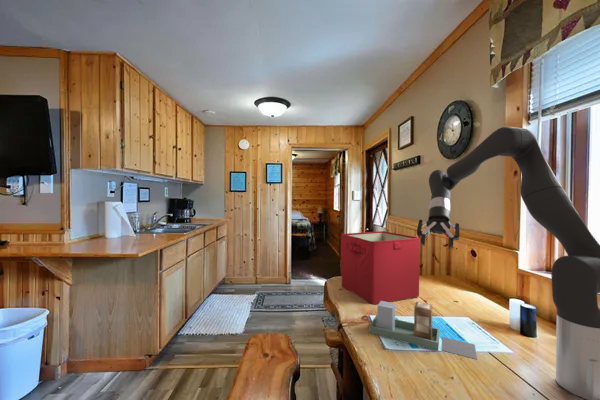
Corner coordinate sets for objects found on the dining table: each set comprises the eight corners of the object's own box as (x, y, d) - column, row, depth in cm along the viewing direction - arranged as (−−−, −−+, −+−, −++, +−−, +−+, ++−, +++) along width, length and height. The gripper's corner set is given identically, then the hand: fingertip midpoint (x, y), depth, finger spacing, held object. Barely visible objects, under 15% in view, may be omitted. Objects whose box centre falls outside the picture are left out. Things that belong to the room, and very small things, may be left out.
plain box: (394, 328, 95) (395, 303, 94) (392, 334, 90) (392, 308, 90) (380, 325, 97) (380, 300, 97) (377, 330, 93) (377, 305, 93)
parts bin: (439, 337, 90) (439, 328, 90) (438, 352, 81) (438, 343, 81) (376, 322, 100) (376, 314, 100) (369, 333, 91) (369, 325, 91)
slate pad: (474, 346, 84) (474, 344, 84) (477, 361, 77) (477, 359, 77) (442, 338, 89) (442, 336, 89) (441, 352, 81) (441, 350, 81)
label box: (432, 337, 89) (432, 304, 89) (430, 345, 84) (431, 310, 84) (415, 333, 91) (416, 301, 91) (413, 340, 86) (414, 306, 86)
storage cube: (369, 307, 114) (370, 240, 114) (337, 287, 140) (337, 232, 140) (424, 297, 126) (425, 237, 126) (386, 280, 152) (386, 230, 152)
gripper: (419, 204, 106) (415, 238, 98) (461, 206, 100) (459, 244, 91) (420, 214, 112) (415, 248, 103) (459, 218, 105) (457, 254, 97)
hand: (436, 246), depth 97 cm, fingers open, 8 cm apart
